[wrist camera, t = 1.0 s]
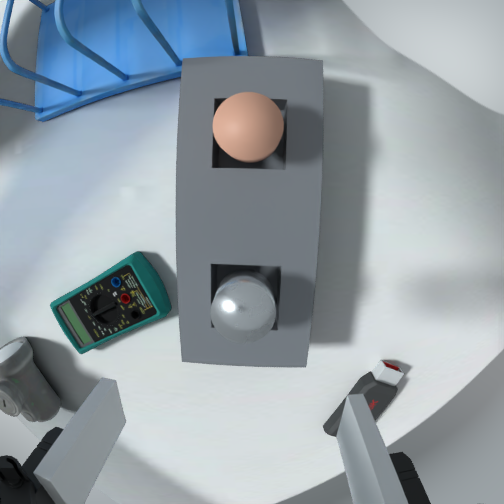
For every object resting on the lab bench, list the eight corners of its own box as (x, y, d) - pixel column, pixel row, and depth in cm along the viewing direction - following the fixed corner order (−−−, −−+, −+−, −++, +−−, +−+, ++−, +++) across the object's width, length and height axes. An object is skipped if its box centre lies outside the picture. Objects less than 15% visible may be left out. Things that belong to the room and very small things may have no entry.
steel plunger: (217, 268, 27) (209, 282, 23) (275, 270, 27) (277, 284, 23) (217, 320, 28) (211, 341, 24) (272, 323, 28) (273, 344, 24)
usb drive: (322, 424, 37) (325, 438, 34) (373, 355, 34) (381, 367, 31) (352, 432, 37) (357, 445, 34) (404, 367, 34) (412, 379, 32)
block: (194, 75, 28) (182, 58, 23) (313, 78, 28) (322, 60, 23) (192, 338, 34) (181, 361, 29) (300, 343, 34) (306, 367, 29)
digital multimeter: (178, 305, 34) (171, 316, 31) (87, 347, 35) (76, 358, 32) (145, 246, 32) (134, 252, 29) (57, 298, 34) (45, 306, 31)
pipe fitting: (2, 339, 35) (-31, 376, 25) (33, 329, 35) (-2, 371, 25) (42, 398, 39) (18, 440, 29) (75, 394, 39) (52, 441, 29)
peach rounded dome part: (221, 105, 24) (214, 92, 20) (281, 106, 24) (284, 93, 20) (218, 162, 25) (211, 158, 21) (279, 163, 25) (282, 160, 21)
